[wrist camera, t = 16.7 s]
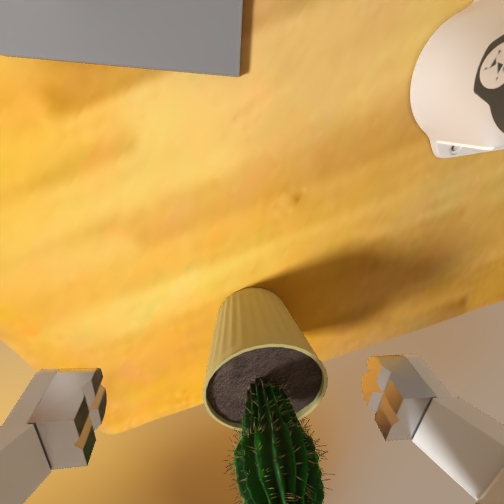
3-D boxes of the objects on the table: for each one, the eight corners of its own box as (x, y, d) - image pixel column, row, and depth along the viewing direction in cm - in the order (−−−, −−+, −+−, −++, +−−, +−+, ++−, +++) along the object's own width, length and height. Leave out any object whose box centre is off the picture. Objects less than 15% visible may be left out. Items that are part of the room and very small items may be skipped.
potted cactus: (313, 322, 52) (418, 552, 26) (238, 363, 55) (265, 614, 28) (268, 257, 46) (347, 480, 19) (185, 308, 48) (153, 570, 21)
